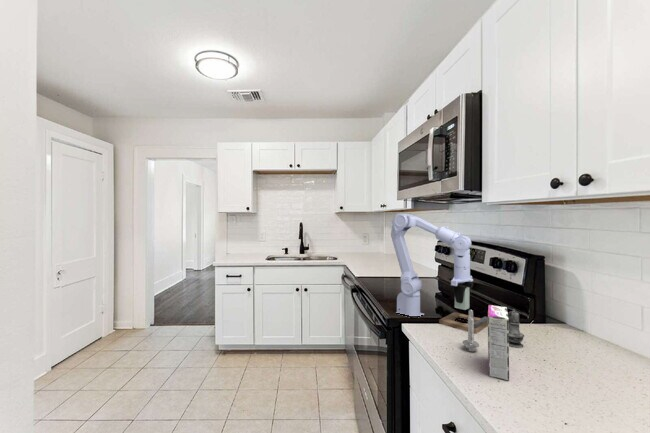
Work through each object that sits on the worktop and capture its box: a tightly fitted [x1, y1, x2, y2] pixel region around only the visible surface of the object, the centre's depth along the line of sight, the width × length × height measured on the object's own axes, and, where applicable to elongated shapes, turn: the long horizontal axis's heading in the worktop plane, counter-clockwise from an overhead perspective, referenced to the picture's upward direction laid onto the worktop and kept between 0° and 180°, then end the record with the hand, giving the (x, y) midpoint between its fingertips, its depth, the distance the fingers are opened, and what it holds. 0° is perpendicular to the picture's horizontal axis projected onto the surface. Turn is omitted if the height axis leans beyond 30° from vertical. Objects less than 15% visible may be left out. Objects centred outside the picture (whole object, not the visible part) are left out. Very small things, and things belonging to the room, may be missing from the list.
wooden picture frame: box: [438, 312, 488, 335], centre depth 117 cm, size 14×14×2 cm
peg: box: [454, 287, 470, 311], centre depth 116 cm, size 4×4×8 cm
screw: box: [461, 308, 480, 353], centre depth 94 cm, size 13×5×5 cm
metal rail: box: [473, 316, 488, 329], centre depth 113 cm, size 1×12×2 cm, turn 132°
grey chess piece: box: [508, 308, 525, 349], centre depth 99 cm, size 6×6×12 cm
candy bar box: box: [487, 304, 510, 381], centre depth 82 cm, size 11×5×16 cm, turn 151°
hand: (461, 301), depth 116 cm, fingers closed on peg, 4 cm apart
